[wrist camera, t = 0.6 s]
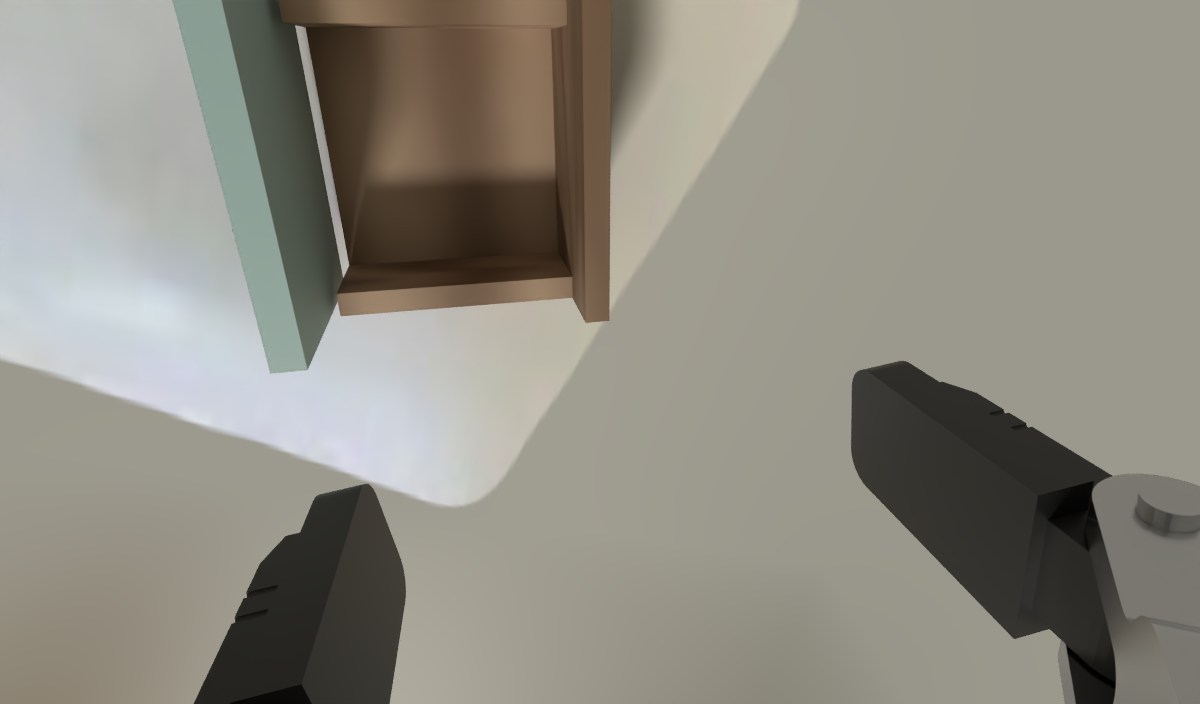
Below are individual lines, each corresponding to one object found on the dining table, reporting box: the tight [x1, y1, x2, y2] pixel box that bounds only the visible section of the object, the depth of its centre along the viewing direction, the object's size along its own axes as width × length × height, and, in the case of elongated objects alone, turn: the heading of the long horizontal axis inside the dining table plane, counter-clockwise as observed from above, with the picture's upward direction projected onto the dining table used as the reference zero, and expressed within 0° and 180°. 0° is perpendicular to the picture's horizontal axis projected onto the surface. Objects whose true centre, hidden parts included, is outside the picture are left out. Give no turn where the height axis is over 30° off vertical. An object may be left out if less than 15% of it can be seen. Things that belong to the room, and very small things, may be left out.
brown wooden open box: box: [278, 0, 611, 323], centre depth 26 cm, size 11×12×10 cm
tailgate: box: [173, 0, 343, 373], centre depth 23 cm, size 1×12×10 cm, turn 0°
